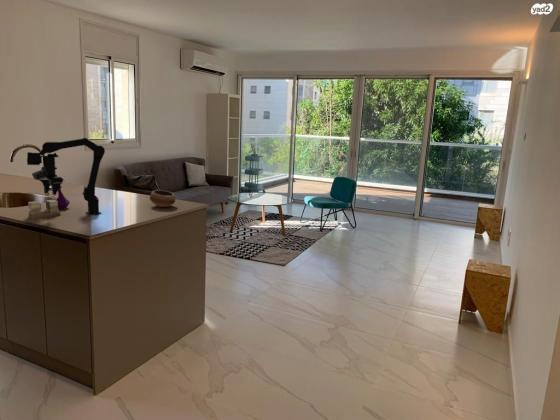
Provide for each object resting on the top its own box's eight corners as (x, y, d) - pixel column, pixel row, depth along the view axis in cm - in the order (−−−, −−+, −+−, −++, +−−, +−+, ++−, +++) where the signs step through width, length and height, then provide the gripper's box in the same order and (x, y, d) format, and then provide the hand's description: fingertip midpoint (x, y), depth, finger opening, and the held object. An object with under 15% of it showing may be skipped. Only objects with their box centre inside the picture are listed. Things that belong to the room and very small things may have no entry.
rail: (60, 215, 244) (59, 201, 242) (33, 218, 233) (32, 203, 231) (55, 213, 247) (54, 199, 246) (28, 216, 237) (28, 202, 235)
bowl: (168, 210, 272) (168, 194, 270) (145, 207, 275) (145, 192, 273) (179, 205, 287) (179, 190, 285) (157, 203, 290) (157, 188, 288)
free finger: (57, 211, 243) (57, 201, 242) (49, 212, 239) (49, 202, 238) (53, 210, 246) (53, 199, 245) (45, 211, 243) (45, 200, 241)
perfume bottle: (53, 209, 255) (51, 179, 252) (56, 207, 262) (55, 177, 259) (66, 210, 257) (65, 179, 253) (70, 207, 264) (69, 177, 260)
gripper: (26, 163, 237) (27, 192, 240) (41, 168, 226) (42, 197, 229) (47, 163, 246) (48, 190, 249) (63, 167, 234) (64, 195, 237)
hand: (50, 193), depth 241 cm, fingers open, 9 cm apart
